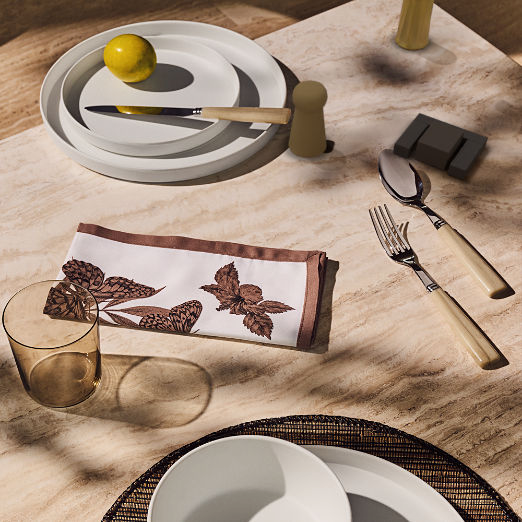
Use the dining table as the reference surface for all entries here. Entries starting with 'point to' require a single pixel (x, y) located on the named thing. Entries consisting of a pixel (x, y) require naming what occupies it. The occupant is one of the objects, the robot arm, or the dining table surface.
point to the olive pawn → (308, 119)
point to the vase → (414, 24)
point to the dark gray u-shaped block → (462, 161)
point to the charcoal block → (438, 145)
